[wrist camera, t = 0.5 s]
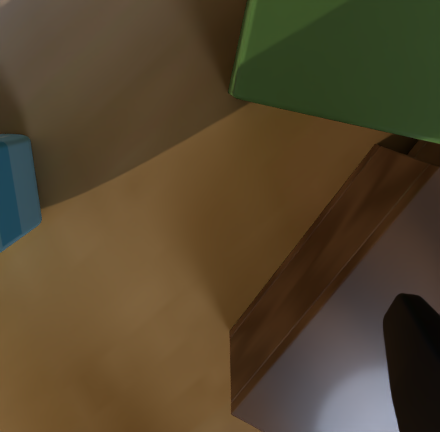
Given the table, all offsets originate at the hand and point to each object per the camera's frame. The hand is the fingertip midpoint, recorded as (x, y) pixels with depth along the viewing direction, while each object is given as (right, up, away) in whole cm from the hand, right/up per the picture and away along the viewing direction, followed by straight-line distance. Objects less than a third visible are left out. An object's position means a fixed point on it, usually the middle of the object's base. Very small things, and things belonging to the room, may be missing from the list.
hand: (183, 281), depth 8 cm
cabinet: (+10, -3, +15) cm, 18 cm away
